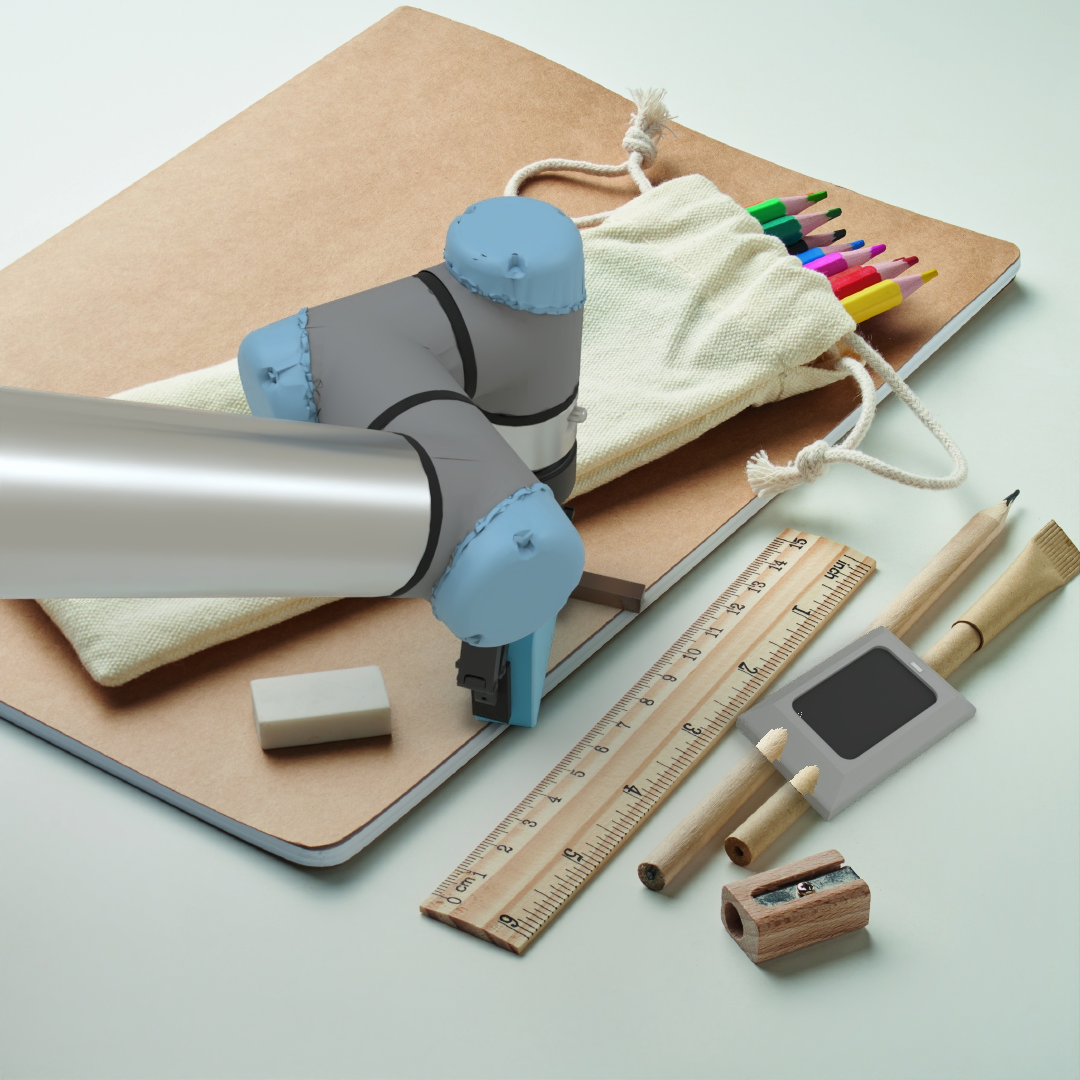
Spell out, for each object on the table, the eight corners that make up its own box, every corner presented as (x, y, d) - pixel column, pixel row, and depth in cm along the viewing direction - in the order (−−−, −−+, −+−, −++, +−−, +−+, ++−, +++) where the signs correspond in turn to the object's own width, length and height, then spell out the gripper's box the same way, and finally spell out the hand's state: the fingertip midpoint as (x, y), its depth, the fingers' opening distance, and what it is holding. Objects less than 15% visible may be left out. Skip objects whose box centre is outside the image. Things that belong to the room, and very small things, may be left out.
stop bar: (518, 595, 98) (518, 571, 96) (524, 581, 100) (524, 557, 97) (638, 623, 97) (641, 599, 94) (643, 608, 98) (645, 584, 95)
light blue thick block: (504, 604, 98) (501, 503, 89) (559, 611, 97) (562, 510, 88) (475, 729, 90) (469, 631, 81) (535, 737, 90) (535, 640, 81)
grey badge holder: (739, 707, 87) (886, 613, 93) (733, 734, 90) (876, 641, 96) (833, 804, 82) (982, 698, 88) (823, 830, 85) (968, 726, 91)
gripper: (517, 597, 67) (518, 795, 83) (622, 329, 83) (606, 539, 99) (389, 567, 68) (415, 768, 84) (517, 310, 84) (518, 519, 100)
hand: (518, 645), depth 91 cm, fingers open, 13 cm apart
